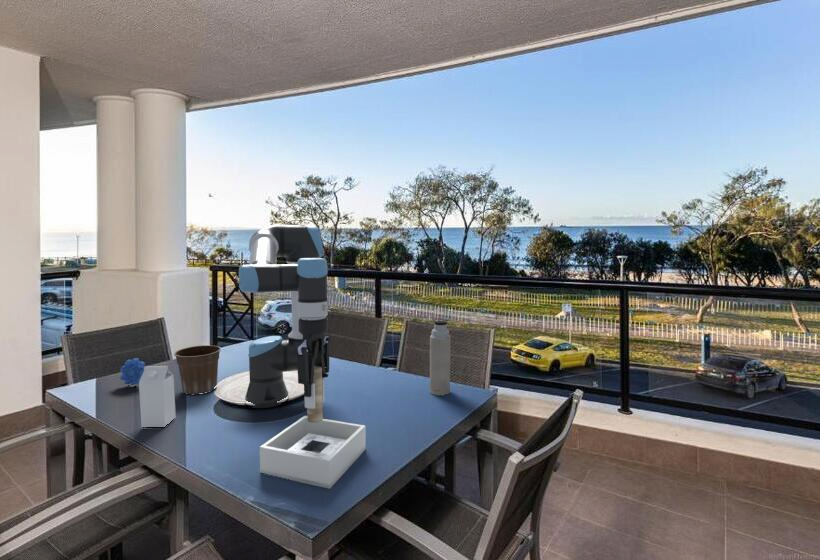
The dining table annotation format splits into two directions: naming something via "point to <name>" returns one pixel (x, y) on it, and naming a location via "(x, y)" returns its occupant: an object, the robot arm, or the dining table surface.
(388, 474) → the dining table surface
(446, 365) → the thermos bottle
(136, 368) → the grapes
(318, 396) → the peg
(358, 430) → the box
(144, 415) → the milk carton
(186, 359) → the plant pot
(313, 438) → the bore plate
